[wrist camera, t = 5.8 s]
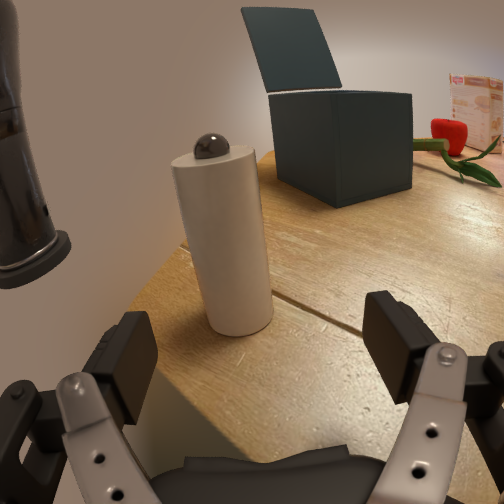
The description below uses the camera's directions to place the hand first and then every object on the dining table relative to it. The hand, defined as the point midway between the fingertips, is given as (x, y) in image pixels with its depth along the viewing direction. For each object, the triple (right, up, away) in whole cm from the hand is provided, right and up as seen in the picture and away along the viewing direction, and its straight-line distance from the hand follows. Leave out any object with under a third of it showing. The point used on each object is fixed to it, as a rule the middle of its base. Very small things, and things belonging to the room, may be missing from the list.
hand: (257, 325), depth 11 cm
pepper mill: (-1, -2, +11) cm, 11 cm away
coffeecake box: (+59, +30, +53) cm, 85 cm away
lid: (+6, +36, +31) cm, 48 cm away
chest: (+13, +13, +33) cm, 38 cm away
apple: (+43, +24, +46) cm, 67 cm away
